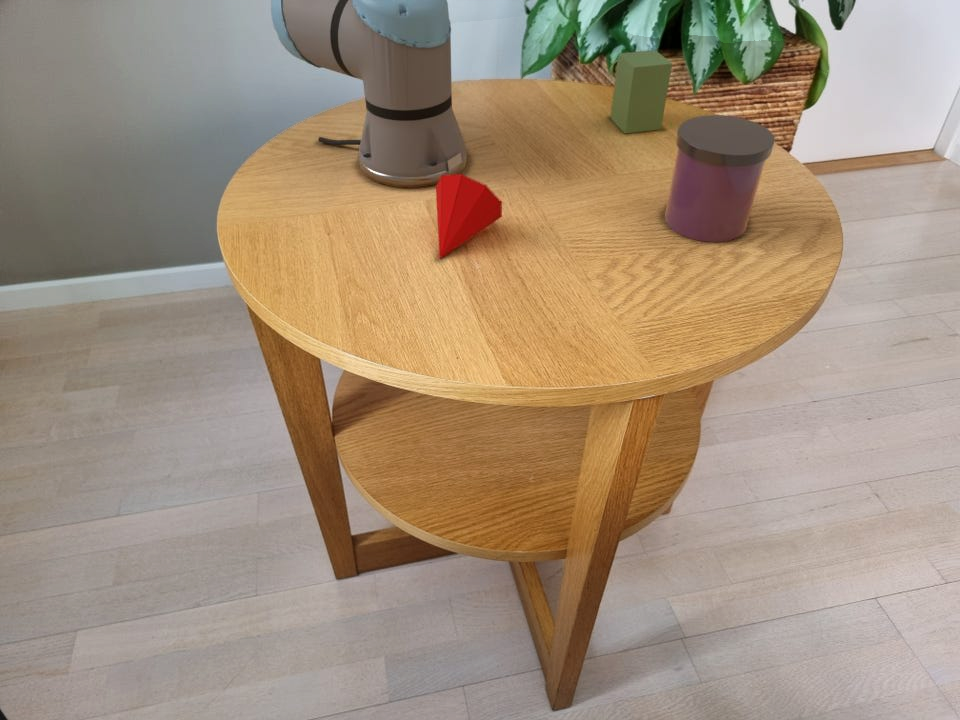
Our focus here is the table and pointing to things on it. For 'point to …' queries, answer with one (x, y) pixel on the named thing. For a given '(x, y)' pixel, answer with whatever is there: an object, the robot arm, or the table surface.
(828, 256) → the table surface
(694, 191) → the jar
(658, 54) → the green block
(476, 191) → the gemstone
